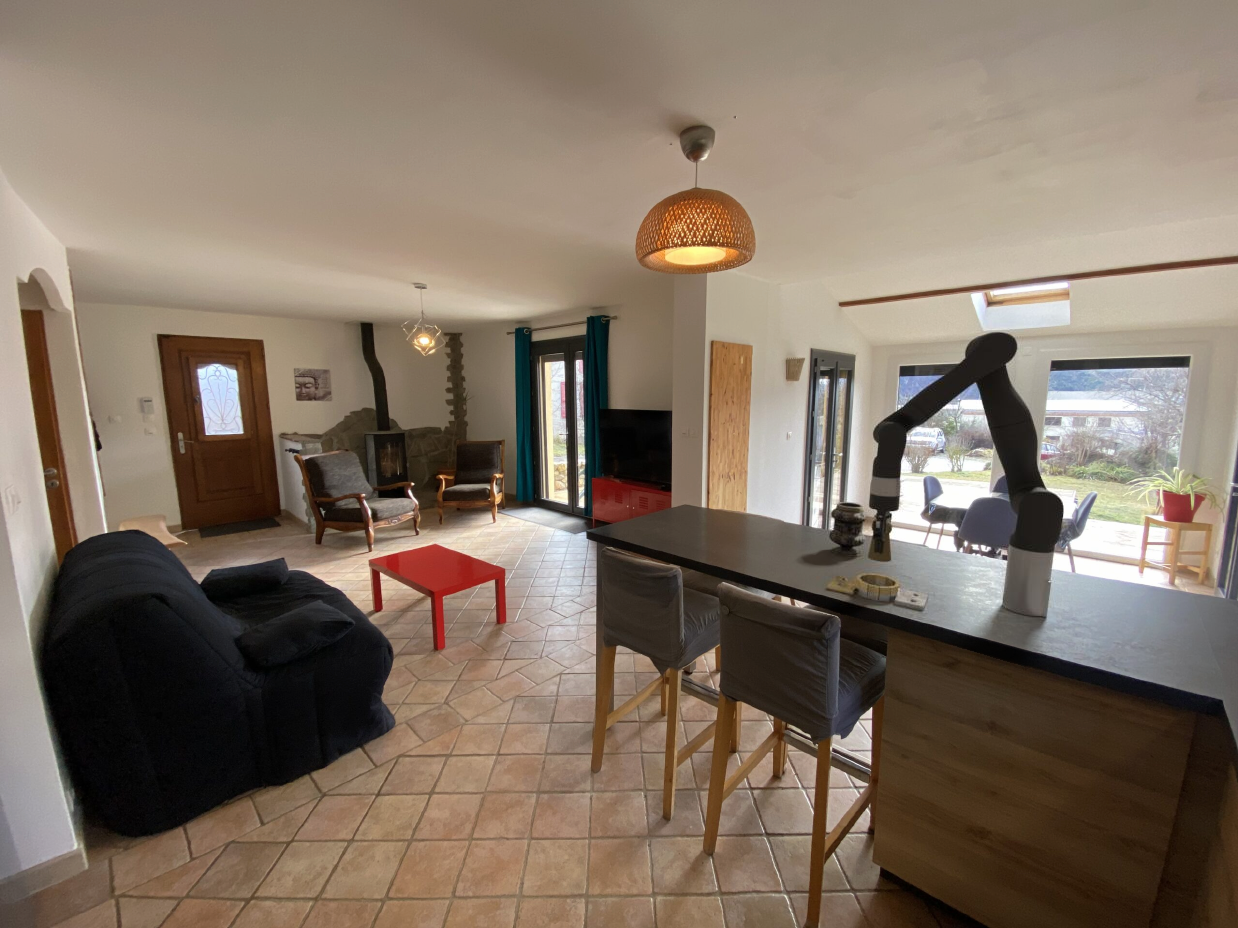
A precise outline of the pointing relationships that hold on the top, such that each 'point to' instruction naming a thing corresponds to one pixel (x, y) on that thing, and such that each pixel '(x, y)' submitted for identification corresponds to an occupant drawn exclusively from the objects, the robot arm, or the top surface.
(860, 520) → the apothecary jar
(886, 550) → the cork
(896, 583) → the brass hinge leaf
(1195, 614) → the top surface
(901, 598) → the steel hinge leaf
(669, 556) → the top surface
